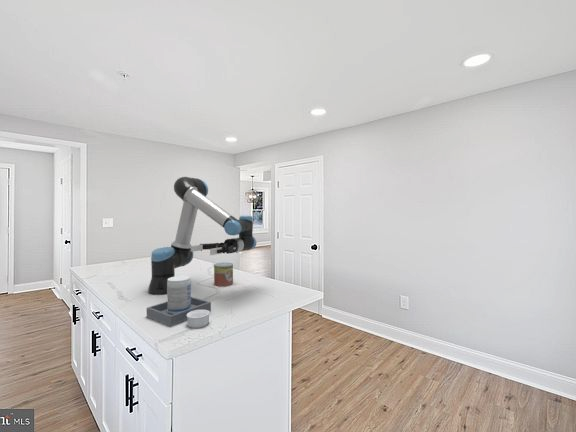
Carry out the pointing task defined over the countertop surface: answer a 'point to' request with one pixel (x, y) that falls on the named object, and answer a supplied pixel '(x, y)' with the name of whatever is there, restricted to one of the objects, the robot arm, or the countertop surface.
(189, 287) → the supplement tub
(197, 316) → the ramekin
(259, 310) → the countertop surface
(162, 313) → the tray
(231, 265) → the canned food
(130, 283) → the countertop surface
